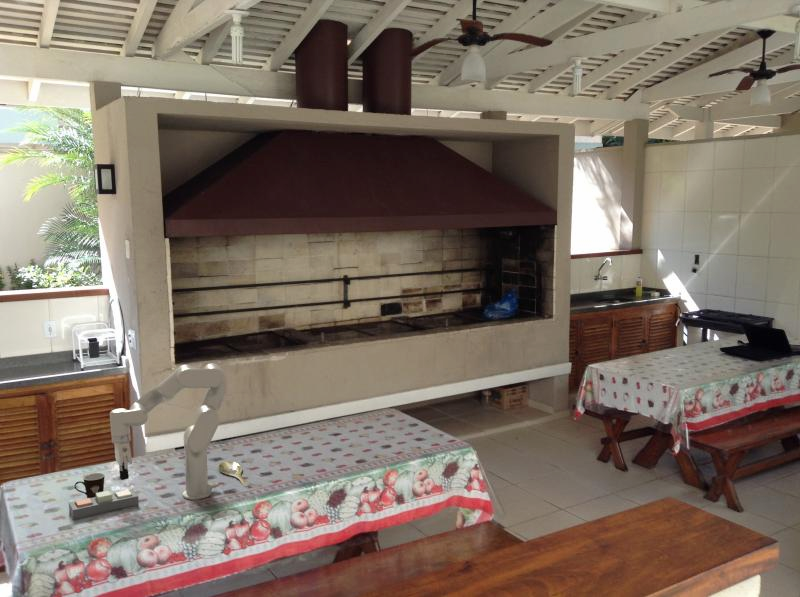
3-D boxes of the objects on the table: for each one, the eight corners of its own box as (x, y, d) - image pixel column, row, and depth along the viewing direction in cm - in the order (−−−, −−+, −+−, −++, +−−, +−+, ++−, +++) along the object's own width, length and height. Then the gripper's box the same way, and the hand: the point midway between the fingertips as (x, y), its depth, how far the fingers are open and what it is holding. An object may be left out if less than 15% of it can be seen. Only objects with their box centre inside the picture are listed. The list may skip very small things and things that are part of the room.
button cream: (128, 498, 312) (128, 489, 312) (131, 502, 308) (131, 493, 307) (115, 501, 309) (115, 492, 308) (118, 505, 305) (118, 496, 304)
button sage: (109, 499, 307) (108, 490, 307) (112, 503, 303) (111, 494, 302) (95, 502, 304) (95, 493, 304) (98, 506, 300) (98, 497, 299)
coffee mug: (108, 494, 320) (107, 472, 319) (101, 502, 311) (100, 480, 310) (82, 494, 320) (81, 473, 318) (74, 502, 311) (73, 480, 310)
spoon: (260, 489, 331) (260, 485, 330) (238, 494, 325) (238, 490, 325) (234, 462, 360) (234, 458, 359) (213, 466, 354) (213, 462, 354)
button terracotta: (89, 506, 303) (89, 497, 303) (92, 511, 299) (91, 502, 298) (75, 509, 300) (75, 500, 300) (78, 514, 296) (77, 505, 295)
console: (133, 498, 315) (132, 489, 314) (138, 506, 308) (138, 496, 307) (69, 512, 300) (68, 502, 300) (73, 520, 293) (72, 510, 292)
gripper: (134, 440, 301) (138, 482, 303) (125, 431, 313) (129, 471, 316) (116, 444, 297) (119, 486, 299) (107, 435, 309) (111, 475, 311)
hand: (124, 478), depth 307 cm, fingers closed
